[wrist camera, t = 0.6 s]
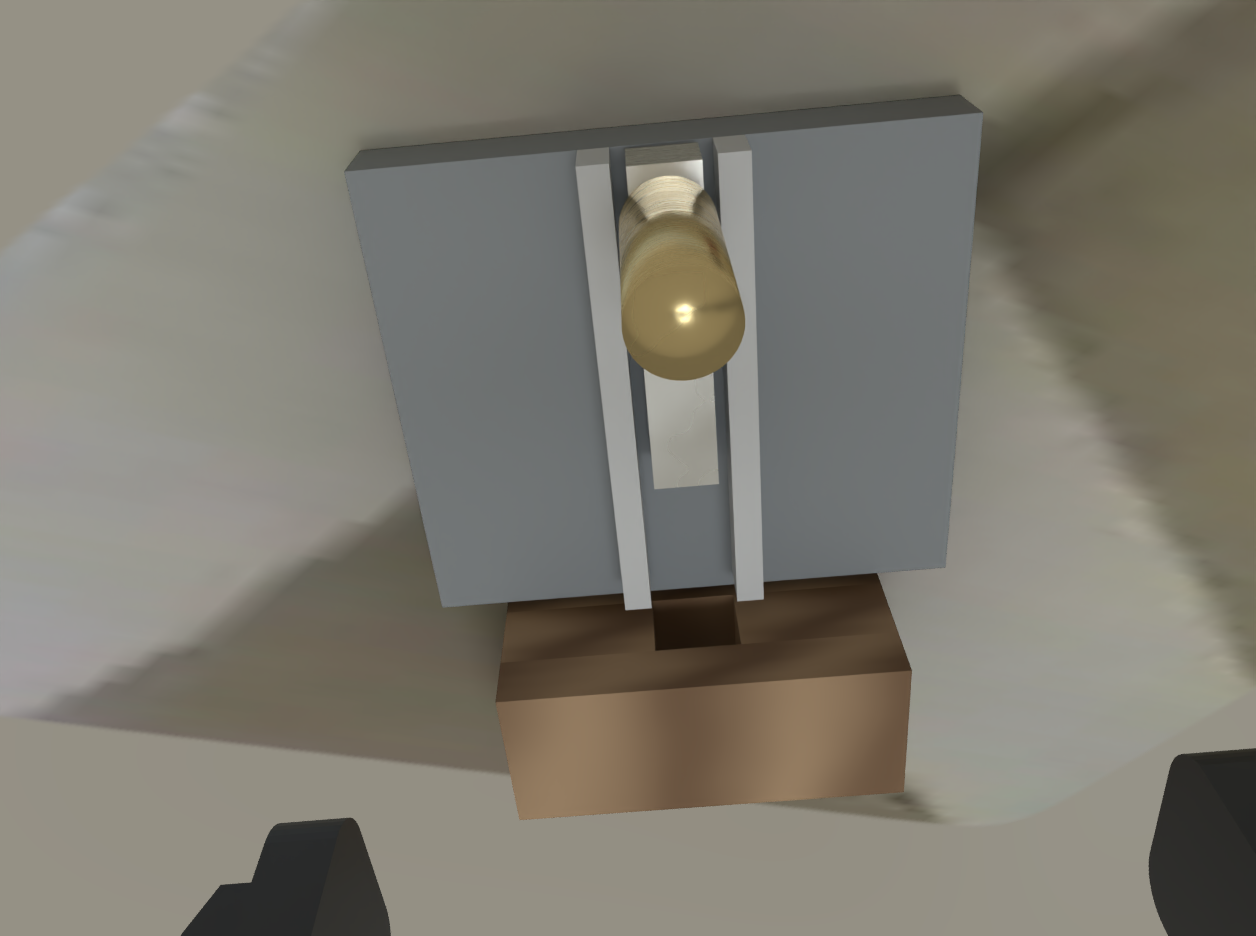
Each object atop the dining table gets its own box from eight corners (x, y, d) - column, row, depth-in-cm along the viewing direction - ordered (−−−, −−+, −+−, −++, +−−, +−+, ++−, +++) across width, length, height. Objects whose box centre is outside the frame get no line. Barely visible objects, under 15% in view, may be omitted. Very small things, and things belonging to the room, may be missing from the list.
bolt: (709, 140, 26) (743, 245, 20) (724, 454, 31) (755, 621, 24) (613, 150, 26) (614, 256, 20) (642, 460, 31) (651, 629, 25)
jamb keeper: (867, 548, 36) (911, 670, 30) (864, 661, 38) (903, 792, 33) (511, 576, 36) (495, 702, 31) (531, 687, 39) (519, 820, 33)
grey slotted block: (960, 94, 28) (1002, 127, 25) (929, 531, 35) (958, 597, 32) (360, 150, 29) (331, 189, 26) (450, 569, 36) (435, 637, 33)
